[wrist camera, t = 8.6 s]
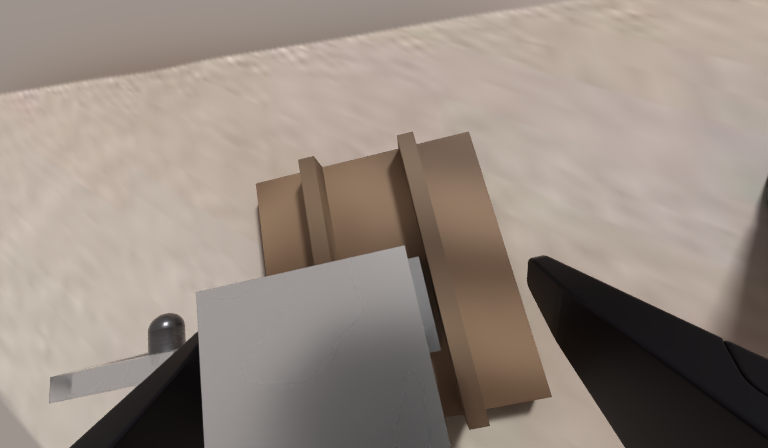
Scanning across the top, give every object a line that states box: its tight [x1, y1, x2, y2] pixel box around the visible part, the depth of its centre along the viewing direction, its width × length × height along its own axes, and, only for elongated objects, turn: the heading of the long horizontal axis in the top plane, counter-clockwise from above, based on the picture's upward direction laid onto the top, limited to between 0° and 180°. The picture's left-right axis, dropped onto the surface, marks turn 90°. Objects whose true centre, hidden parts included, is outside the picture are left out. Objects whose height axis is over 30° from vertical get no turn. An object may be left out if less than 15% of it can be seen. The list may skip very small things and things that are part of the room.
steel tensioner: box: [49, 245, 451, 448], centre depth 8 cm, size 4×13×10 cm, turn 102°
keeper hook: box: [148, 313, 186, 355], centre depth 13 cm, size 7×4×5 cm, turn 12°
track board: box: [256, 132, 552, 430], centre depth 14 cm, size 13×12×3 cm
